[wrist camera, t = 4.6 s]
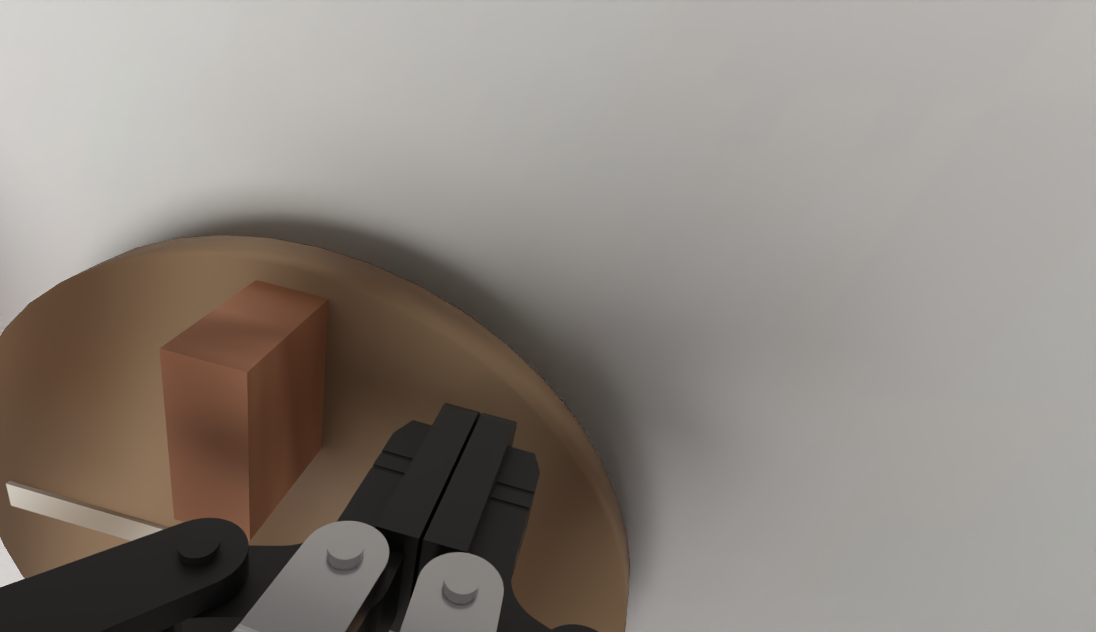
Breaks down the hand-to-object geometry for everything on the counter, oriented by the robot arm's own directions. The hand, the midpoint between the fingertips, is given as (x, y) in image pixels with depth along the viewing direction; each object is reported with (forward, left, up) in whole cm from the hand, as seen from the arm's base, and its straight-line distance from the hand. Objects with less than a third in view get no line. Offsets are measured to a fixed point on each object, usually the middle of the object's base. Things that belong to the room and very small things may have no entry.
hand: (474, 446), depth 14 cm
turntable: (+5, +7, -2) cm, 8 cm away
